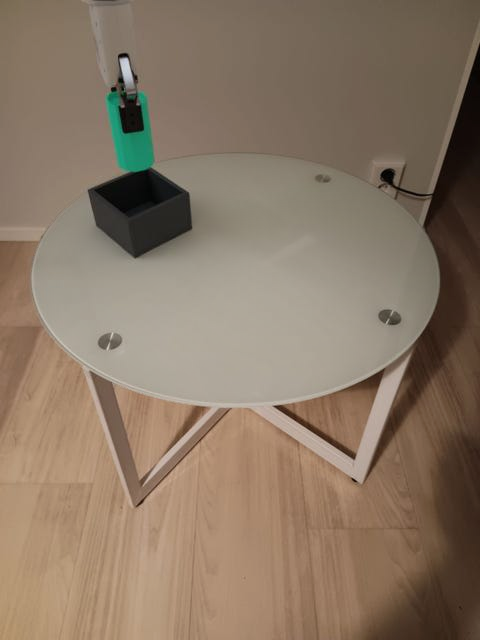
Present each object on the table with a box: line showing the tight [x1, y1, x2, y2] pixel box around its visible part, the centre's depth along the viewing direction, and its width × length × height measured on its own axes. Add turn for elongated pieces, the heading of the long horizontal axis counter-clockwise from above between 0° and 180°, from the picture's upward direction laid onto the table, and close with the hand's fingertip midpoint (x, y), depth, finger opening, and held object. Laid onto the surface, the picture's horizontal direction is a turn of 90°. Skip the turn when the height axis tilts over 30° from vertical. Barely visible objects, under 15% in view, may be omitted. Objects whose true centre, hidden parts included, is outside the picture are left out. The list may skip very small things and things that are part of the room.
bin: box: [87, 166, 193, 259], centre depth 90 cm, size 13×13×8 cm
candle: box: [105, 87, 156, 172], centre depth 78 cm, size 6×6×12 cm
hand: (129, 120), depth 78 cm, fingers closed on candle, 5 cm apart
